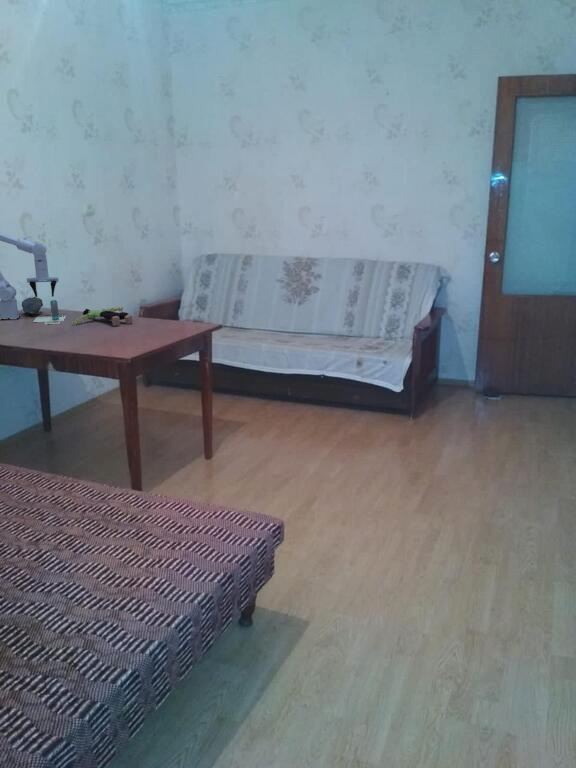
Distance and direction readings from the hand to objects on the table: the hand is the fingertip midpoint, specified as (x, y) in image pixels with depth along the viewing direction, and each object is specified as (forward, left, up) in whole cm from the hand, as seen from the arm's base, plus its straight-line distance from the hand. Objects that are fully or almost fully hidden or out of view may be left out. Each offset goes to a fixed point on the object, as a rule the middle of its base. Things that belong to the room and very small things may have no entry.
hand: (44, 296), depth 309 cm
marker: (+5, -9, -10) cm, 15 cm away
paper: (+2, -6, -10) cm, 12 cm away
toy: (+28, -18, -11) cm, 35 cm away
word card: (+4, -17, -10) cm, 20 cm away
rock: (-7, +10, -11) cm, 17 cm away
